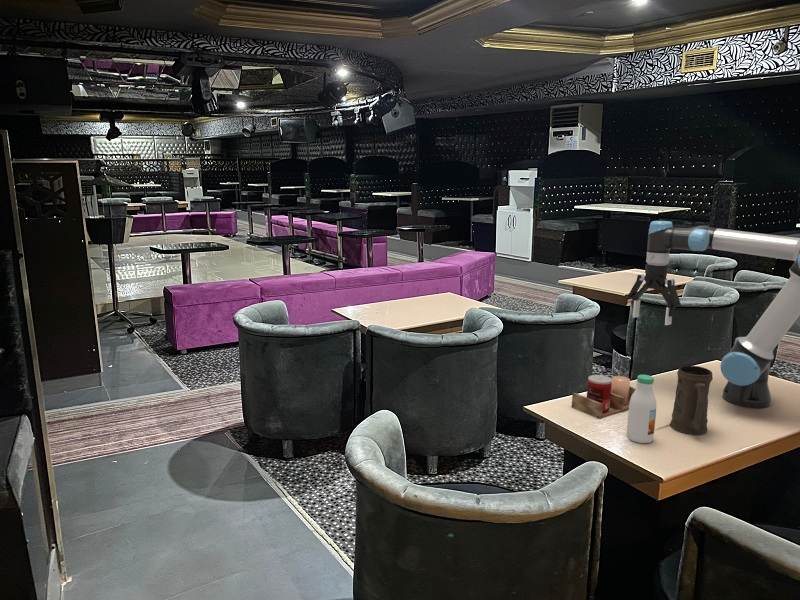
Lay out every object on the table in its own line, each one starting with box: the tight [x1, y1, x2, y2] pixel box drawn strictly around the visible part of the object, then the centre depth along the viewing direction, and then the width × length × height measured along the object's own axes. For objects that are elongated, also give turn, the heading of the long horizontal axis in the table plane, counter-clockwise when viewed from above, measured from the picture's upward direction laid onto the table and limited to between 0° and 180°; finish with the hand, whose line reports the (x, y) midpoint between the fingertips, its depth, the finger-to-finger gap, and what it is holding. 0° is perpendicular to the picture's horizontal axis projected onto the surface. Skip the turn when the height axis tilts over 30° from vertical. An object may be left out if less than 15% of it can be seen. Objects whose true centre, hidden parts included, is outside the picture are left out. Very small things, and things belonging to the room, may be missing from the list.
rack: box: [571, 386, 637, 420], centre depth 204 cm, size 12×23×6 cm, turn 121°
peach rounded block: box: [611, 375, 631, 406], centre depth 207 cm, size 6×6×9 cm
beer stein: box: [669, 365, 713, 436], centre depth 186 cm, size 15×11×20 cm
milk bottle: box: [626, 374, 657, 444], centre depth 180 cm, size 8×8×20 cm
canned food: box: [586, 374, 612, 413], centre depth 201 cm, size 8×8×11 cm
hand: (651, 320), depth 219 cm, fingers open, 13 cm apart
